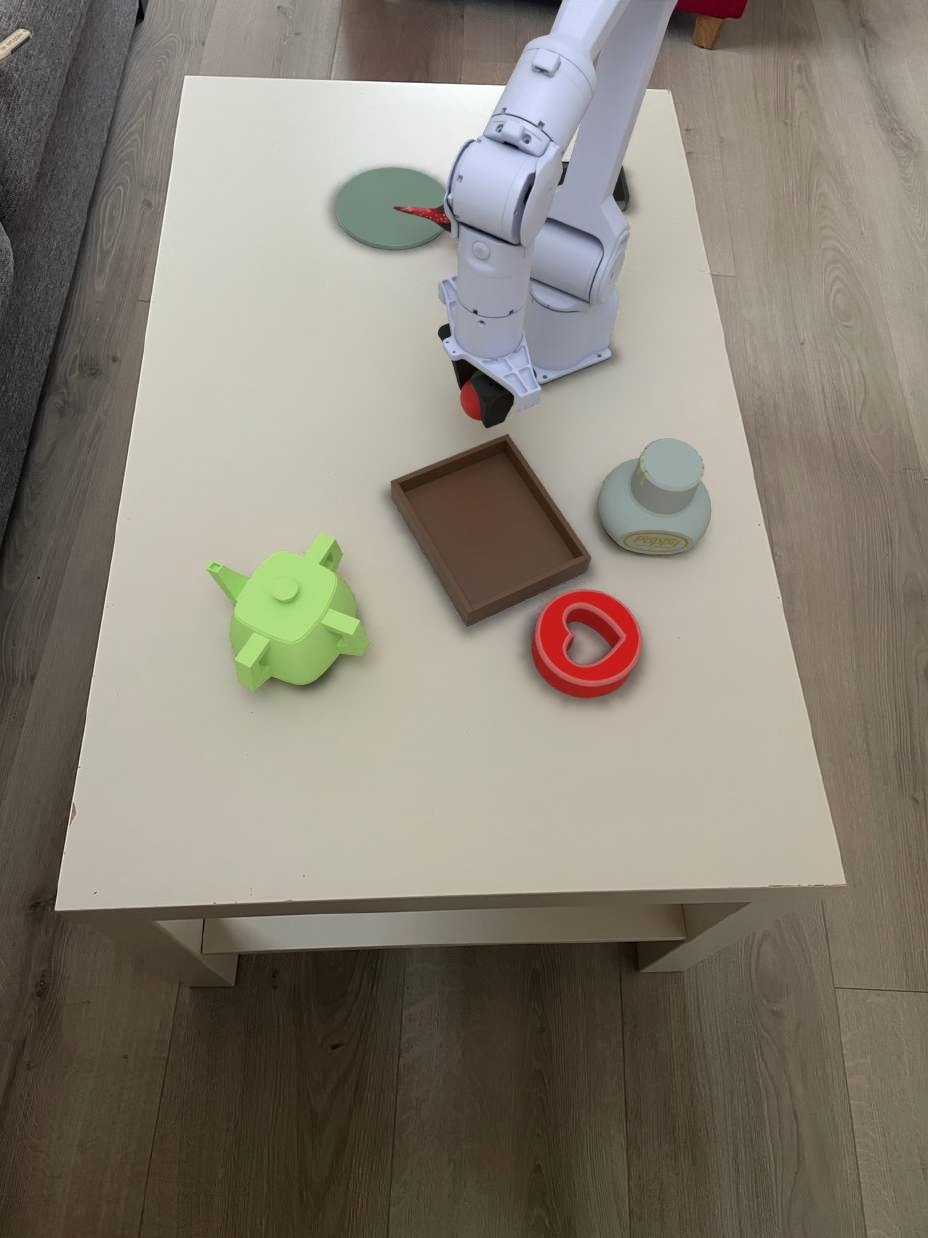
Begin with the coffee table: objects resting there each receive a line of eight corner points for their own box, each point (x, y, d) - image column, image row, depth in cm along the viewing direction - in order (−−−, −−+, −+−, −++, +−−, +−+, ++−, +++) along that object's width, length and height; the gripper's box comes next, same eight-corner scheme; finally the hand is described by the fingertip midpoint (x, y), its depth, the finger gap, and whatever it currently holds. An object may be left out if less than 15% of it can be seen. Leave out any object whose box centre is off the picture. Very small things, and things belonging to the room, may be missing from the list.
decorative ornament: (652, 678, 78) (661, 664, 75) (556, 711, 76) (561, 699, 73) (608, 590, 82) (614, 574, 79) (515, 620, 80) (519, 605, 77)
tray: (505, 450, 89) (508, 433, 86) (586, 571, 83) (591, 557, 80) (391, 497, 86) (390, 480, 83) (466, 626, 79) (468, 613, 77)
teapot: (343, 568, 82) (333, 511, 73) (379, 673, 77) (373, 625, 68) (221, 604, 80) (196, 549, 71) (251, 713, 75) (228, 669, 66)
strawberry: (489, 389, 82) (493, 355, 78) (511, 420, 81) (515, 387, 77) (451, 404, 81) (452, 371, 77) (472, 436, 80) (475, 404, 76)
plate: (419, 159, 109) (419, 154, 108) (471, 228, 103) (471, 224, 103) (317, 190, 105) (317, 185, 105) (365, 263, 100) (365, 259, 99)
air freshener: (698, 492, 87) (729, 430, 78) (703, 562, 84) (737, 505, 75) (592, 484, 87) (611, 421, 78) (592, 554, 84) (613, 495, 75)
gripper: (406, 249, 70) (409, 366, 82) (492, 371, 64) (481, 477, 77) (481, 223, 71) (473, 341, 84) (571, 340, 66) (549, 449, 78)
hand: (481, 405), depth 80 cm, fingers closed on strawberry, 4 cm apart
